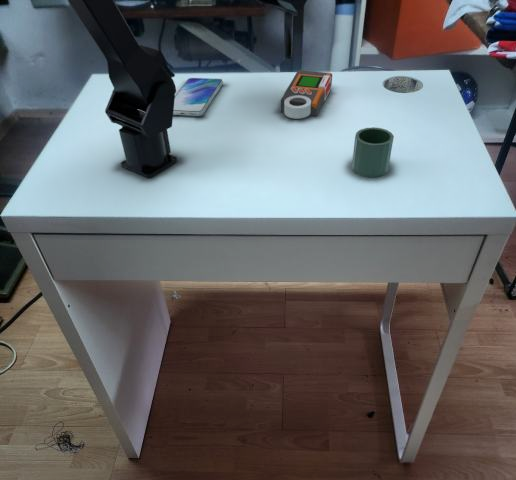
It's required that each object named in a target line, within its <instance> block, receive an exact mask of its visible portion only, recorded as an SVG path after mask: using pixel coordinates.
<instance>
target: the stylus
mask: <svg viewBox="0 0 516 480" xmlns="http://www.w3.org/2000/svg"><path fill="white" fill-rule="evenodd" d="M283 12H284V13H283V15H284V16H283V18H284V19H283V20H284V22H283V23H284V24H283V25H284V26H283V58H284V59H286V60H291V59H292V57H293V27H294V26H293V21H294V15H293V14H290V13H288V12H286V11H283Z"/></svg>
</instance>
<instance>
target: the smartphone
mask: <svg viewBox="0 0 516 480" xmlns="http://www.w3.org/2000/svg"><path fill="white" fill-rule="evenodd" d="M223 84H224V81H223V79H222V78H205V77H204V78H203V77H190V78H187V79H186V81H185V82H184V84H183V85H182V86H181V87H180V89H179V90H178V91H177V92H176V93H175V100H174V111H173V116H192V117H193V116H194V117H195V116H196V117H199V116H200V117H201V116H202V115H204V113H205V112H206V110H207V109H208V107H209V105H210V104H211V103H212V101H213V99H214V98H215V96H216V94H217V93H218V91H219V90H220V89H221V87H222V85H223Z"/></svg>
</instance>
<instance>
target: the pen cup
mask: <svg viewBox="0 0 516 480" xmlns="http://www.w3.org/2000/svg"><path fill="white" fill-rule="evenodd" d="M394 138H395V136H394V134H393V133H392V132H391V131H389V130H388V129H385V128H381V127H375V126H374V127H364V128H361V129H359V130H357V132H356V133H355V136H354V144H353V151H352V160H351V170H352V171H353V172H354V173H355V174H356V175H358V176H361V177H365V178H379V177H382V176H384V175H385V174H387V173H388V171H389V167H390V166H389V165H390V162H391V161H390V160H391V156H392V149H393V144H394Z"/></svg>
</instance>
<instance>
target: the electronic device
mask: <svg viewBox="0 0 516 480" xmlns="http://www.w3.org/2000/svg"><path fill="white" fill-rule="evenodd" d="M332 84H333V73H332V72H325V71H314V70H313V71H312V70H302V69H297V71H296V73H295V75H294V76H293V78H292V80H291V81H290V83H289V84H288V86H287V88H286V90H285V91H284V93H283V95H282V97H281V99H280V113H283V114H284V115H285V116H286V117H288V118H289V119H295V120H296V119H299V120H300V119H304V118H307V117H318V114H319V113H320V111H321V109H322V106H323V105H324V103H325V102H326V100H327V98H328V96H329V93H330V91H331V87H332Z"/></svg>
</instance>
